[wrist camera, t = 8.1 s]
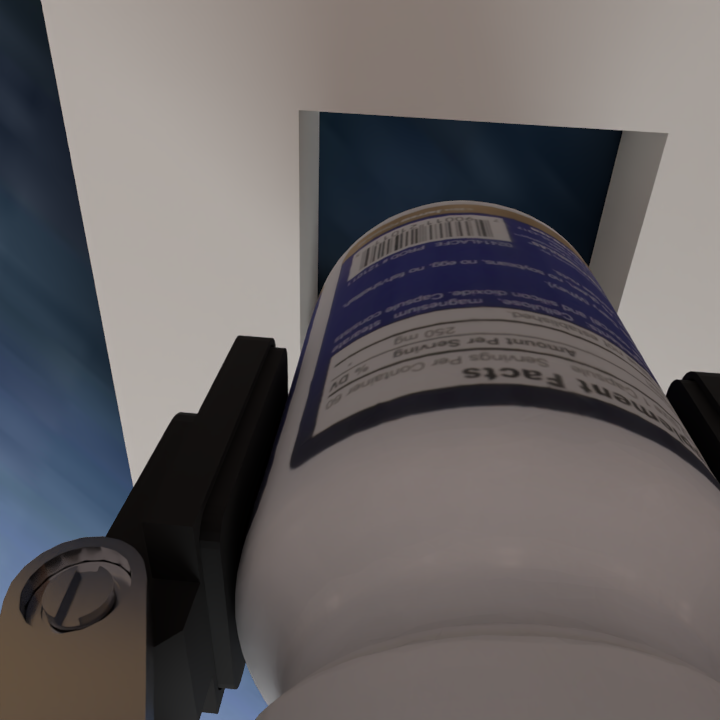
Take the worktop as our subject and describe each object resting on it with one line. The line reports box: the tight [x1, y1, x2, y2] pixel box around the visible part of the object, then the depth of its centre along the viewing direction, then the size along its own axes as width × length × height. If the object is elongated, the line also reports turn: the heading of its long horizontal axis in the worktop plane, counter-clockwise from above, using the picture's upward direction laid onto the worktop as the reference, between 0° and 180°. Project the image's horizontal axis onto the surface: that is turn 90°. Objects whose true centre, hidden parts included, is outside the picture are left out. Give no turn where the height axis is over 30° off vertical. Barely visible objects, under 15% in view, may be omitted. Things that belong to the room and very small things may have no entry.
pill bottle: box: [235, 200, 720, 720], centre depth 9 cm, size 6×6×10 cm
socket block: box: [41, 0, 720, 487], centre depth 16 cm, size 18×18×3 cm
